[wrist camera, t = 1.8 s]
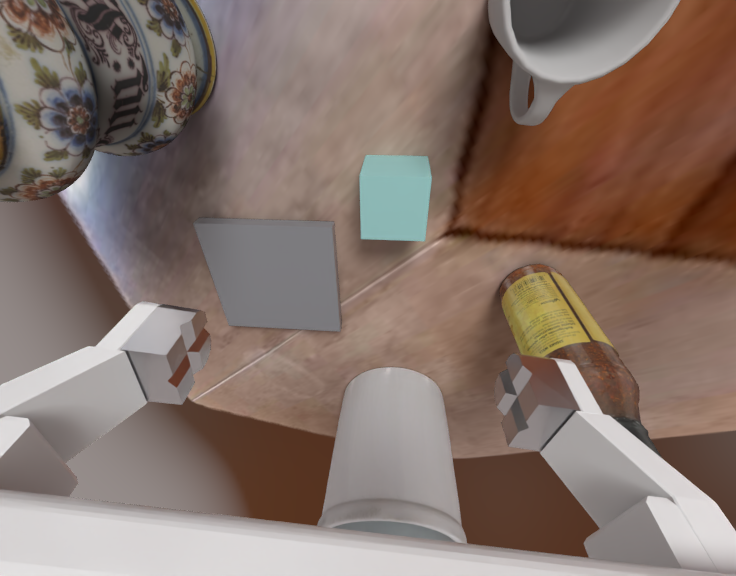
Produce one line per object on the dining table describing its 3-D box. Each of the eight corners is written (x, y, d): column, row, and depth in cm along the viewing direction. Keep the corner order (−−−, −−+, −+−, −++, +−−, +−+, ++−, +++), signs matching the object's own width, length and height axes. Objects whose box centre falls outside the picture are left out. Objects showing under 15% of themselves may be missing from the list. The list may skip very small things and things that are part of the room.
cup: (631, -90, 19) (760, -156, 12) (555, 112, 25) (612, 144, 18) (491, -102, 19) (540, -174, 12) (450, 102, 25) (468, 130, 18)
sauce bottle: (488, 305, 36) (554, 522, 20) (510, 255, 32) (612, 474, 16) (550, 314, 36) (663, 537, 20) (579, 265, 32) (747, 493, 16)
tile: (334, 221, 31) (332, 227, 31) (341, 324, 39) (340, 331, 38) (199, 217, 32) (193, 223, 31) (233, 318, 40) (229, 325, 39)
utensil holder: (363, 347, 42) (343, 508, 28) (469, 383, 44) (500, 547, 30) (327, 409, 50) (297, 554, 36) (417, 436, 53) (422, 582, 39)
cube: (427, 155, 27) (431, 177, 23) (422, 213, 30) (424, 241, 26) (365, 154, 28) (359, 175, 24) (366, 211, 31) (360, 239, 27)
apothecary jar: (151, -127, 19) (-571, -568, 5) (263, 99, 26) (90, 188, 12) (14, -22, 23) (-649, -106, 8) (144, 154, 29) (-104, 276, 15)
